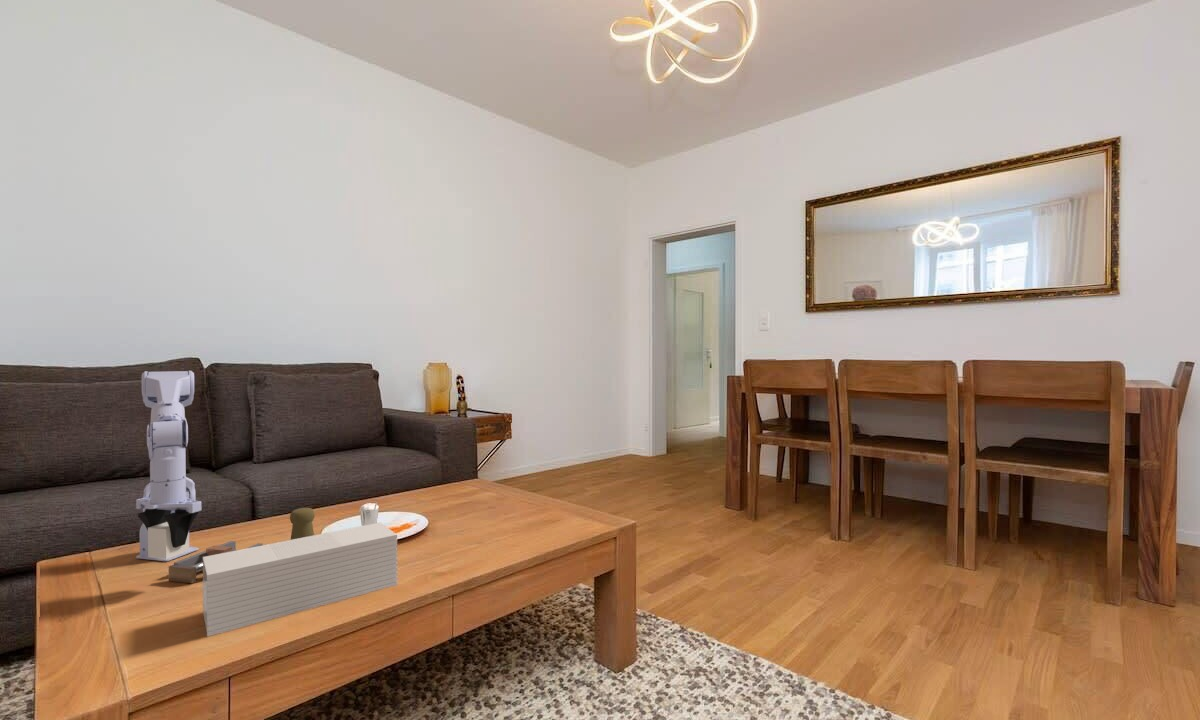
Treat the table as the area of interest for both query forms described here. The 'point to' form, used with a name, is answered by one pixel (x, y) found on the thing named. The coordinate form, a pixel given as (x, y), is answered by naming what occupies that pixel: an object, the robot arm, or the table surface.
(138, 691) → the table surface
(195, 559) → the track
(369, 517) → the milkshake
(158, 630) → the table surface
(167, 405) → the robot arm
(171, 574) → the ram
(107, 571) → the table surface
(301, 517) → the cork
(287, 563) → the stack of papers
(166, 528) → the block
